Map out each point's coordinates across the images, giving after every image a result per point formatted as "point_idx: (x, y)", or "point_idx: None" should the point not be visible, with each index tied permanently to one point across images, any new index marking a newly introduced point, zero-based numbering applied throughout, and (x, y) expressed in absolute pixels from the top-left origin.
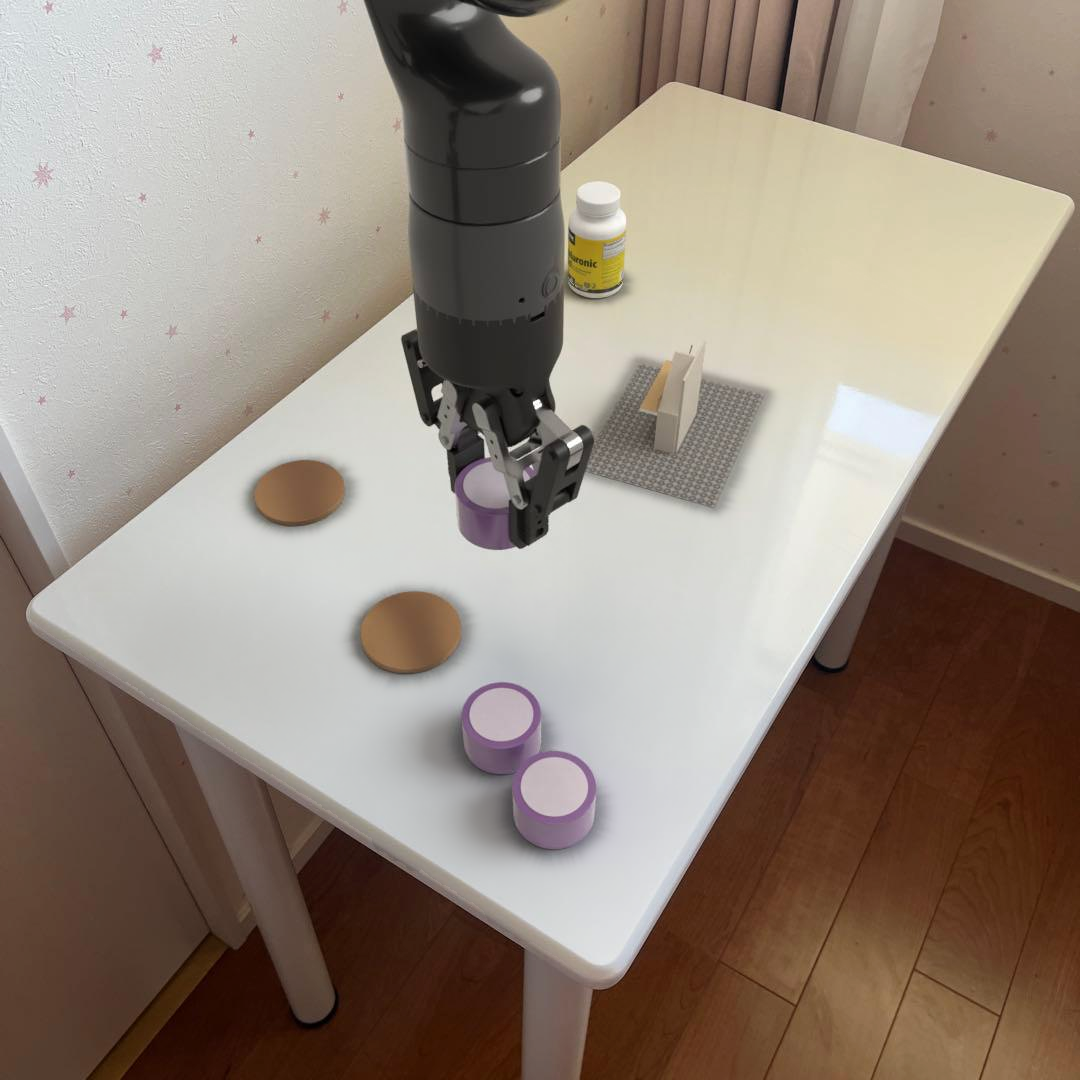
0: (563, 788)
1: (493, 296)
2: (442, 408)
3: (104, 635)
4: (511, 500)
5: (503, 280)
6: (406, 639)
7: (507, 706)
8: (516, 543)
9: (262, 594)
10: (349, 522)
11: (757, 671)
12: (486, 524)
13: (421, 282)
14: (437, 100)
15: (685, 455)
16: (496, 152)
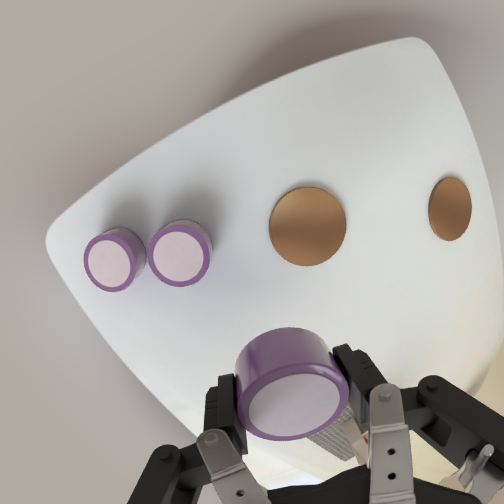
0: (104, 268)
1: None
2: (404, 457)
3: (394, 50)
4: (223, 431)
5: None
6: (301, 220)
7: (182, 264)
8: (219, 379)
9: (390, 144)
10: (418, 228)
11: (173, 399)
12: (249, 371)
13: None
14: None
15: (337, 428)
16: None
